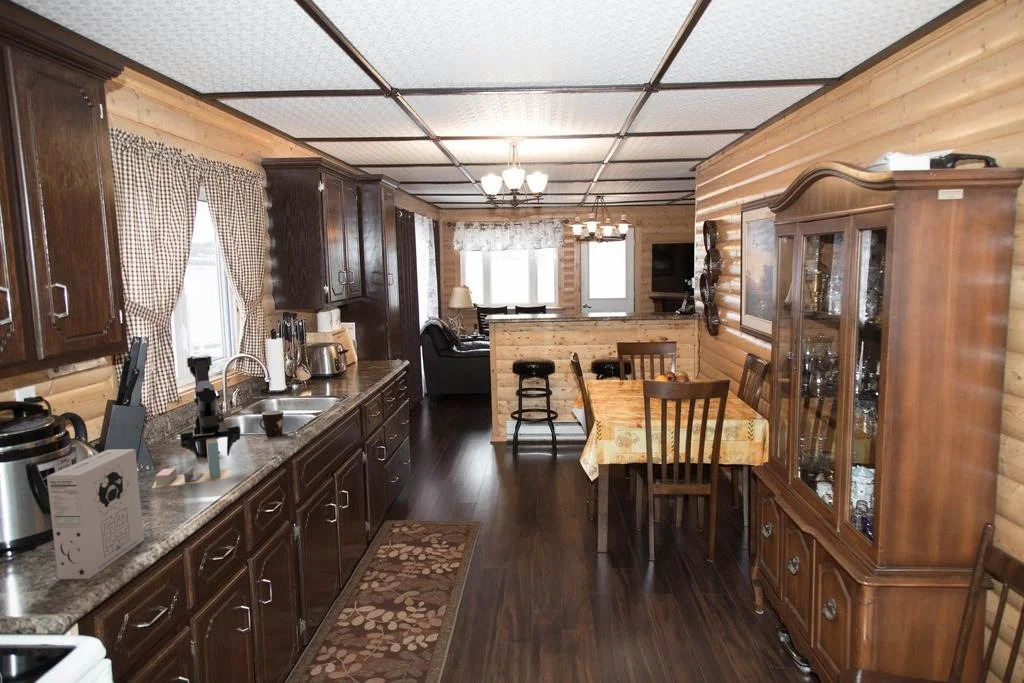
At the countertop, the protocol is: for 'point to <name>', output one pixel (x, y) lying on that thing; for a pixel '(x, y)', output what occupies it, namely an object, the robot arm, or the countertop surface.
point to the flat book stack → (166, 476)
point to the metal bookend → (191, 475)
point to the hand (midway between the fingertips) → (213, 457)
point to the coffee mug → (272, 422)
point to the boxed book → (213, 458)
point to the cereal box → (95, 512)
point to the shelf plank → (204, 478)
